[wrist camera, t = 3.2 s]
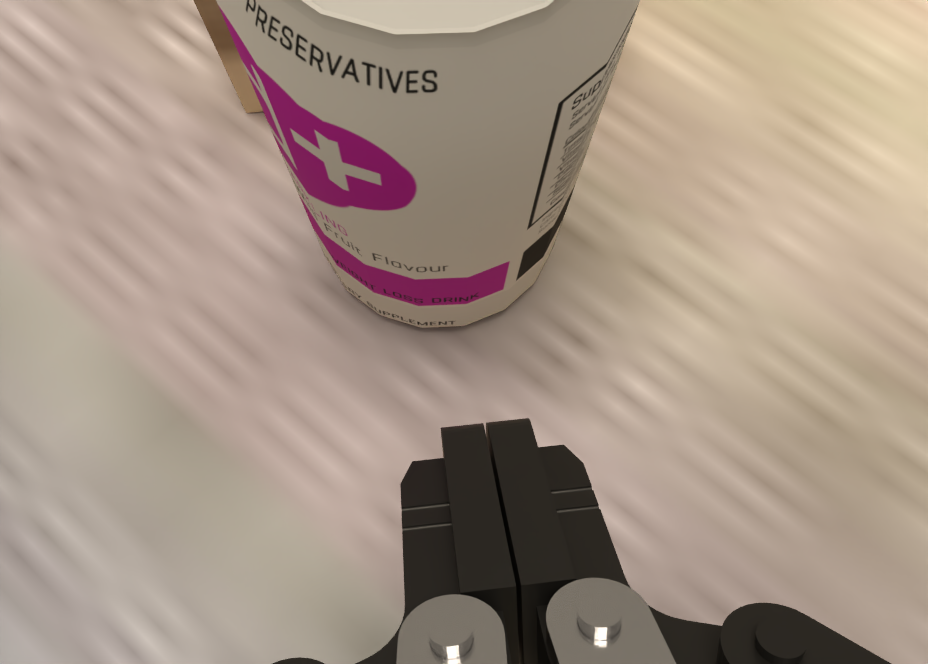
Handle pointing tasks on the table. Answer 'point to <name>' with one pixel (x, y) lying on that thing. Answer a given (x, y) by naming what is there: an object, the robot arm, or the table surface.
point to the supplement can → (432, 135)
